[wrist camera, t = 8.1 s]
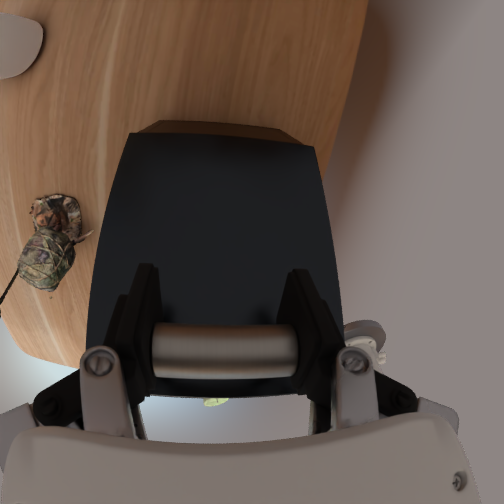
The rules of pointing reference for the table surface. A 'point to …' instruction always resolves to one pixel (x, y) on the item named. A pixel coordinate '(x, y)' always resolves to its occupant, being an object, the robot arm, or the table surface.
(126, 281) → the bin lid
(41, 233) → the camouflage figurine
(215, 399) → the candle
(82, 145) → the table surface
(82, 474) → the robot arm
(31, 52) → the cup
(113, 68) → the table surface
